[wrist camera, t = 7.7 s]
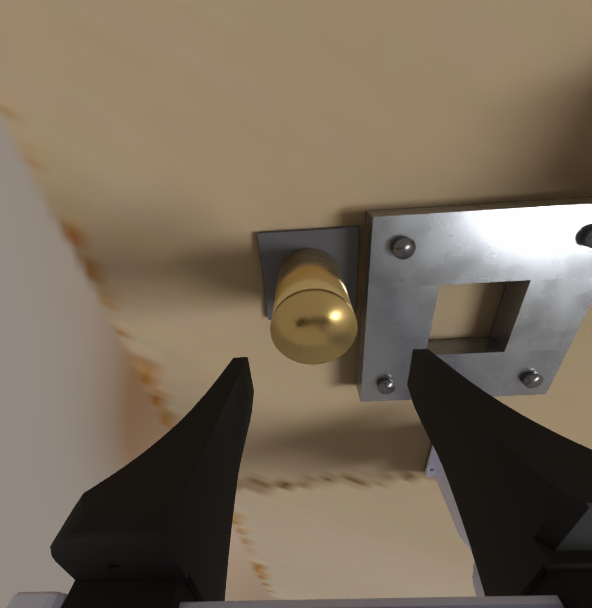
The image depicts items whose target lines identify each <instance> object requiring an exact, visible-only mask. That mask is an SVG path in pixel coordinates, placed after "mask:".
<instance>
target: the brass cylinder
mask: <svg viewBox="0 0 592 608" xmlns="http://www.w3.org/2000/svg"><path fill="white" fill-rule="evenodd" d="M270 331H271V337H272V340H273V342H274V344H275V346H276V348H277V349H278V350H279V351H280V352H281V353H282V354H283V355H285V356H286V357H287V358H289V359H291V360H293V361H296V362H299V363H304V364H322V363H327V362H330V361H333V360H335V359H337V358H338V357H340V356H342V355H343V354H344V353H345V352H346V351H347V350H348V349H349V348H350V347H351V346H352V344H353V342H354V340H355V338H356V335H357V320H356V316H355V314H354V311H353V308H352V305H351V302H350V299H349V296H348V293H347V290H346V287H345V284H344V281H343V278H342V275H341V272H340V270H339V267H338V264H337V262H336V261H335V259H334V258H333V257H332V256H331V255H330V254H328V253H327V252H325V251H323V250H320V249H316V248H303V249H299V250H297V251H295V252H293V253H291V254H290V255H289V256H287V257H286V259H285V260H284V261H283V262H282V264H281V266H280V269H279V274H278V280H277V287H276V293H275V300H274V307H273V313H272V320H271V328H270Z"/></svg>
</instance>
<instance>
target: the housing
mask: <svg viewBox="0 0 592 608" xmlns="http://www.w3.org/2000/svg"><path fill="white" fill-rule="evenodd" d="M504 281H508V282H507V285H506V288H505V291H504V294H503V297H502V300H501V303H500V306H499V309H498V313H497V316H496V319H495V322H494V325H493V328H492V331H491V334H490V337H482V338H461V339H440V340H428V339H429V334H430V329H431V324H432V319H433V314H434V309H435V304H436V299H437V294H438V289H439V285H448V284H467V283H486V282H504ZM591 302H592V197H582V198H566V199H549V200H533V201H517V202H501V203H485V204H469V205H452V206H436V207H420V208H404V209H388V210H372V211H366V223H365V240H364V258H363V276H362V294H361V312H360V330H359V348H358V366H357V384H356V386H357V390H358V393H359V397H360V401H361V402H365V401H389V400H412V399H411V396H410V392H409V389H408V386H407V382H408V376H409V370H410V364H411V358H412V352H413V349H428V350H430V351H431V352H433V353H434V354H435V355H436V356H438V357H439V358H440V359H442V360H443V361H444V362H445V363H447V364H448V365H449V366H451V367H452V368H453V369H454V370H456V371H457V372H458V373H460V374H461V375H462V376H464V377H465V378H466V379H468V380H469V381H470V382H472V383H473V384H475V385H476V386H477V387H479V388H480V389H482V390H483V391H485V392H486V393H488V394H489V395H491V396H512V395H536V394H546V393H547V391H548V389H549V387H550V385H551V383H552V381H553V379H554V377H555V375H556V373H557V371H558V369H559V367H560V365H561V363H562V361H563V359H564V357H565V355H566V353H567V351H568V349H569V347H570V345H571V342H572V340H573V338H574V336H575V334H576V332H577V330H578V328H579V326H580V324H581V322H582V320H583V318H584V316H585V314H586V312H587V310H588V308H589V306H590V304H591Z"/></svg>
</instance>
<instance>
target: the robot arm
mask: <svg viewBox="0 0 592 608" xmlns="http://www.w3.org/2000/svg"><path fill="white" fill-rule="evenodd" d="M407 386H408V389H409V392H410V396H411V399H412V401H413V404H414V407H415V409H416V411H417V414H418V416H419V418H420V420H421V422H422V424H423V426H424V428H425V430H426V432H427V434H428V436H429V439H430V441H431V443H432V448H431V452H430V455H429V459H428V463H427V467H426V470H425V474H426V476H427V477H435V478H436V481H437V483H438V485H439V488H440V490H441V493H442V495H443V497H444V500H445V502H446V504H447V507H448V509H449V512H450V514H451V516H452V519H453V521H454V523H455V526H456V528H457V531H458V533H459V535H460V536H461V538H462V540H463V541H464V542H465V544H466V545H467V546H468V547H469V548H470V549H471V550H472V553H473V557H474V560H475V563H474V565H473V576H472V578H473V585H474V589H475V593H476V596H477V597H428V598H372V599H317V600H264V601H263V600H261V601H225V589H226V578H227V567H228V556H229V547H230V546H229V545H230V537H231V528H232V519H233V511H234V502H235V494H236V487H237V479H238V472H239V467H240V462H241V457H242V453H243V449H244V444H245V440H246V436H247V431H248V427H249V422H250V418H251V413H252V404H253V394H254V390H253V384H252V379H251V373H250V368H249V362H248V357H240V358H233V359H232V360H231V362H230V363H229V364H228V366H227V367H226V369H225V370H224V371H223V373H222V374H221V375H220V376H219V378H218V379H217V380H216V382H215V383H214V384H213V385H212V387H211V388H210V389H209V390H208V392H207V393H206V394H205V395H204V396H203V397H202V398H201V400H200V401H199V402H198V403H197V404H196V405H195V406H194V407H193V409H192V410H191V411H190V412H189V413H188V414H187V415H186V416H185V417H184V418H183V419H182V420H181V421H180V422H179V423H178V424H177V425H176V426H175V427H173V428H172V429H171V430H170V431H169V432H168V433H167V434H166V435H164V437H162V438H161V439H160V440H159V441H157V442H156V443H155V444H154V445H152V446H151V447H150V448H149V449H148V450H146V451H145V452H144V453H142V454H141V455H140V456H138V457H137V458H136V459H134V460H133V461H132V462H130V463H129V464H128V465H126V466H125V467H123V468H122V469H120V470H119V471H117V472H116V473H114V474H113V475H111V476H110V477H109V478H107V479H105V480H104V481H102V482H101V483H99V484H97V485H96V486H95V487H93V488H91V489H90V490H88V491H87V492H85V493H84V494H83V495H82V496H81V498H80V499H79V501H78V502H77V504H76V505H75V507H74V508H73V510H72V512H71V513H70V515H69V517H68V518H67V520H66V521H65V523H64V525H63V526H62V528H61V530H60V531H59V533H58V534H57V536H56V538H55V539H54V541H53V543H52V545H51V547H50V548H51V554H52V557H53V558H54V560H55V561H56V562H57V563H58V564H59V565H60V566H61V567H62V568H63V569H64V570H65V571H66V572H67V573H69V574H70V575H71V576H72V577H73V578H74V579H75V582H74V584H73V586H72V588H71V590H70V592H69V594H68V595H67V594H65V593H61V592H19V593H17V594H15V595H14V596H13V597H12V599H11V601H10V602H9V604H8V605H7V607H6V608H592V450H591V449H589V448H587V447H584V446H582V445H580V444H578V443H576V442H573V441H571V440H569V439H567V438H565V437H563V436H561V435H559V434H557V433H555V432H553V431H551V430H549V429H547V428H545V427H543V426H541V425H540V424H538V423H536V422H534V421H532V420H530V419H528V418H527V417H525V416H523V415H521V414H520V413H518V412H516V411H515V410H513V409H511V408H510V407H508V406H506V405H504V404H503V403H501V402H500V401H498V400H497V399H495V398H494V397H492V396H491V395H489V394H488V393H486V392H485V391H483V390H482V389H480V388H479V387H477V386H476V385H475V384H473V383H472V382H470V381H469V380H468V379H466V378H465V377H464V376H462V375H461V374H460V373H458V372H457V371H456V370H454V369H453V368H452V367H451V366H449V365H448V364H447V363H445V362H444V361H443V360H442V359H440V358H439V357H438V356H436V355H435V354H434V353H433V352H431V351H430V350H428V349H413V352H412V358H411V364H410V370H409V376H408V382H407Z"/></svg>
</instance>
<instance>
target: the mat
mask: <svg viewBox="0 0 592 608" xmlns="http://www.w3.org/2000/svg"><path fill="white" fill-rule="evenodd" d="M257 235H258V243H259V251H260V258H261V266H262V274H263V282H264V290H265V298H266V306H267V314H268V320H272V313H273V307H274V300H275V293H276V287H277V280H278V274H279V269H280V266H281V264H282V262H283V261H284V260H285V259H286V257H287V256H289V255H290V254H291V253H293V252H295V251H297V250H299V249H303V248H316V249H320V250H323V251H325V252H327V253H328V254H330V255H331V256H332V257H333V258H334V259H335V261H336V262H337V264H338V267H339V270H340V272H341V275H342V278H343V281H344V284H345V287H346V290H347V293H348V296H349V299H350V302H351V305H352V308H353V311H354V314H355V308H356V287H357V265H358V243H359V227H358V226H352V227H336V228H319V229H302V230H286V231H269V232H258V233H257Z"/></svg>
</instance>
